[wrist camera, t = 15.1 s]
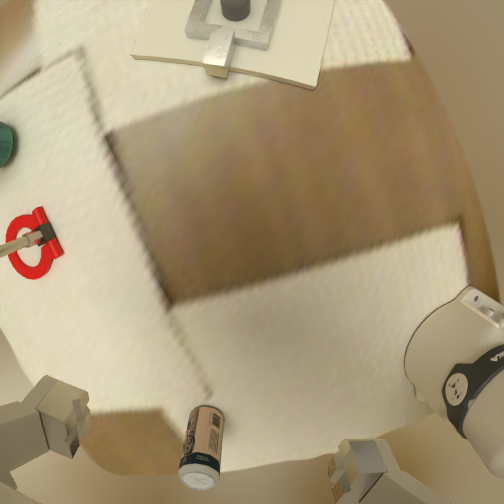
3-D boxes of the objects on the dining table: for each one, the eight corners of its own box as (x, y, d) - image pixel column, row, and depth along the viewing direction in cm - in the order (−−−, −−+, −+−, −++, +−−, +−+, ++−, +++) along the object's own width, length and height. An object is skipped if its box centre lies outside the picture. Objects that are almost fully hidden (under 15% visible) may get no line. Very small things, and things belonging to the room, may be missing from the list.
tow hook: (28, 285, 36) (69, 258, 35) (-33, 325, 24) (2, 297, 23) (2, 232, 35) (41, 198, 33) (-64, 257, 22) (-33, 217, 21)
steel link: (257, 84, 29) (259, 73, 26) (177, 70, 29) (168, 58, 25) (282, -9, 27) (286, -27, 23) (208, -21, 26) (204, -39, 22)
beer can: (188, 403, 40) (173, 469, 29) (222, 404, 40) (216, 471, 29) (192, 427, 41) (181, 490, 30) (225, 428, 42) (221, 492, 30)
